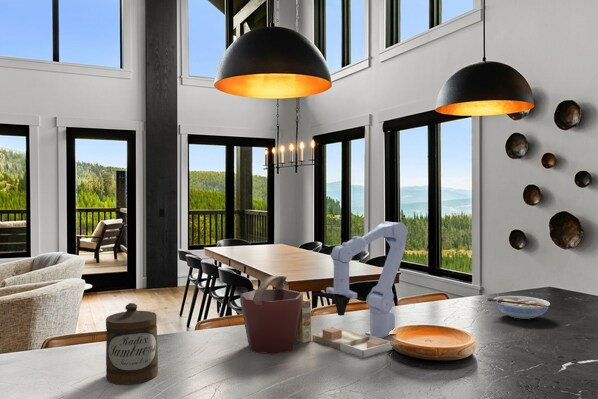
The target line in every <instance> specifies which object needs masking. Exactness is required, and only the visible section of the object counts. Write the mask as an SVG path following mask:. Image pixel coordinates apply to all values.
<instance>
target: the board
mask: <svg viewBox="0 0 598 399" xmlns="http://www.w3.org/2000/svg"><path fill="white" fill-rule="evenodd" d="M338 329H340V330H342V337H339V338H335V339H329V338H326V337H323V331H322V332H318V333H313V334H311V341H315V342H317V343H320V344H323V345H325V346H329V347H331V348H334V349H337V350H339V351H341V350H340V343H345V344H348V345H350V346H353V345H357V344H360V343H364V342H367V341H369V335H368V334H365V333H360V332H357V331H354V330H352V329H347V328H344V327H340V328H338Z"/></svg>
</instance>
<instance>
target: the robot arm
mask: <svg viewBox="0 0 598 399" xmlns="http://www.w3.org/2000/svg"><path fill="white" fill-rule="evenodd" d="M408 233H409V231H408V228H407V226H406V224H404V223H403V222H395V221H393V222H392V221H388V220H387V221H383V222H382V223H379V224H378V225H377V226H376V227H374V228H373V229H371V230H370V231H369V232H367V233H365V234H364V235H363V236H359V235H357V236H355V235H353V236H352V237H351V239H350V240H348V241H346V242H345V241H344V242H342V244H341V245H336V246H334V247H333V248H332V251H331V253H330V258H331V259H332V263H333V287H331V286H329V287H326V289H325V290H326V291H325V292H326V293H327V294H333V295H332V296H331V299H332V300H333V302H334V304H335V309H336V312H337V315H338V316H339V317H342V316H344V315H345V313H346V309H347V306H348V305H349V302H350V301H351V299H352V300H354V299H356V300H357V299H358V293H357V292H355V291H353V290H350V262H351V261H352V259H353V258H354V256H356V255H358V254H359V253H361V252H363V251H365V250H366V247H367V245H369V244H371V243H372V242H375V241H376V240H378V239H381V238H382V237H383V238H384V239H385V241H386V242H387V243H388V245H389V247H390V248H389V251H388V253H387V257H386V259H385V263H384V265H383V268H382V272H381V273H380V276H379V279H378V282H377V284H376V285H375V286H373V287H372V289H371V291H370V292H369V294H367V297H366V299H365V300H366V301H365V302H366V305H367V307H369V309H368V310H369V314H370V315H369V331H365V333H364V334H365V335H368V336H369V335H371V336H375V337H378V338H381V339H383V338H384V337H389V336H388V334H389V332H390V331H391V330H393V329H394V328H395V327H396V326H395V324H396V320H395V314H394V312H393V311H392V309H393V306H394V298H395V296H394V293H393V291H392V288H393V285H394V282H395V279H396V276H397V273H398V270H399V269H400V268H399V267H400V264H401V262H402V259H403V256H404V253H405V251H406V247H407V244H406V243H407V237H408ZM395 329H396V328H395Z"/></svg>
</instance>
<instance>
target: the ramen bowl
mask: <svg viewBox="0 0 598 399" xmlns="http://www.w3.org/2000/svg"><path fill="white" fill-rule="evenodd" d="M486 301H487V302H494V304H495V306H496V307H497V308H498V310H499V311H500V312H502V313H503V314H505V315H506V316H509V317H511V318H512V317H514V318H513V319H515V318H520V319H529V320H530V318H531V319H534V318H537V317H540V316H542V315H543V314H544V313H546V312H547V310H548V309H549V308H552V306H551V303H550V302H549V301H547V300H545V299H541V298H537V297H531V296H524V295H503V296H497V297H494V298H488V299H486ZM520 319H519V320H520Z"/></svg>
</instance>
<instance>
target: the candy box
mask: <svg viewBox="0 0 598 399" xmlns="http://www.w3.org/2000/svg"><path fill="white" fill-rule="evenodd" d="M311 302H312V301H311V299H307V298H304V297H303V303H302V309H301V314H300V320H299V325H298V331H297V336H296V341H298V342H301V343H303V344H304V343H307V342H312V314H311V313H312V303H311Z"/></svg>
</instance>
